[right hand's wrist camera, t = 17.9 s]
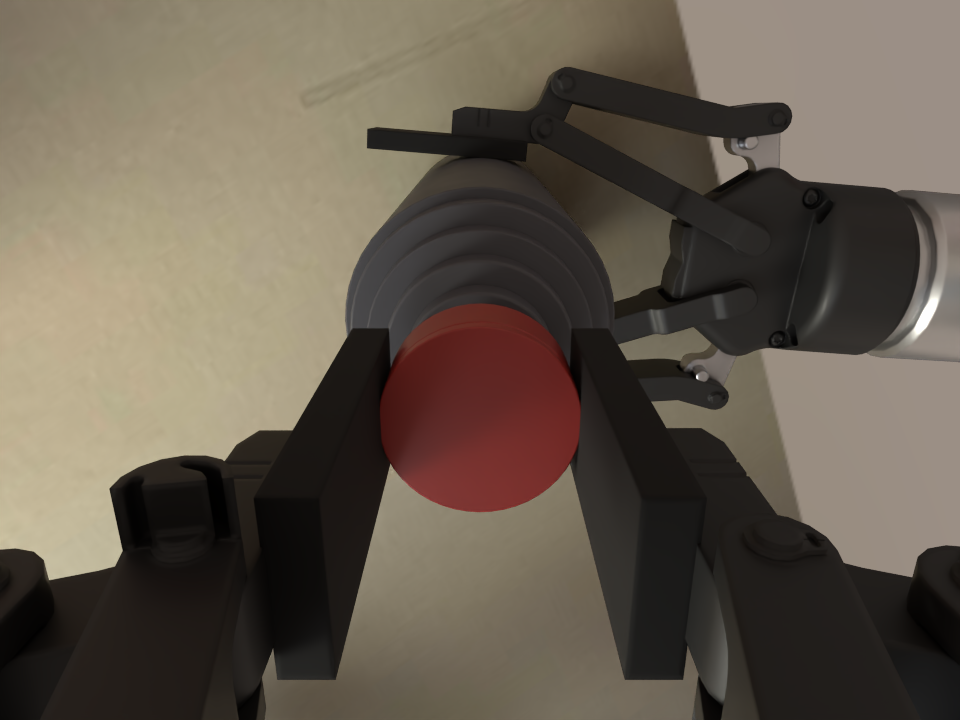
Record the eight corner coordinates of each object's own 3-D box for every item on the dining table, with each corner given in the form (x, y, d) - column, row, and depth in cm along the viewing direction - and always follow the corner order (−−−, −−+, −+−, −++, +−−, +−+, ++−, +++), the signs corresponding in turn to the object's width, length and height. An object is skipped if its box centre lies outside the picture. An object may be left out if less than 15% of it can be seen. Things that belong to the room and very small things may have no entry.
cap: (482, 263, 13) (482, 282, 12) (609, 392, 14) (624, 426, 13) (350, 389, 14) (334, 422, 13) (478, 502, 15) (478, 547, 14)
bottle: (578, 224, 36) (748, 422, 13) (476, 315, 38) (472, 629, 15) (483, 116, 34) (489, 129, 11) (381, 218, 36) (210, 406, 13)
